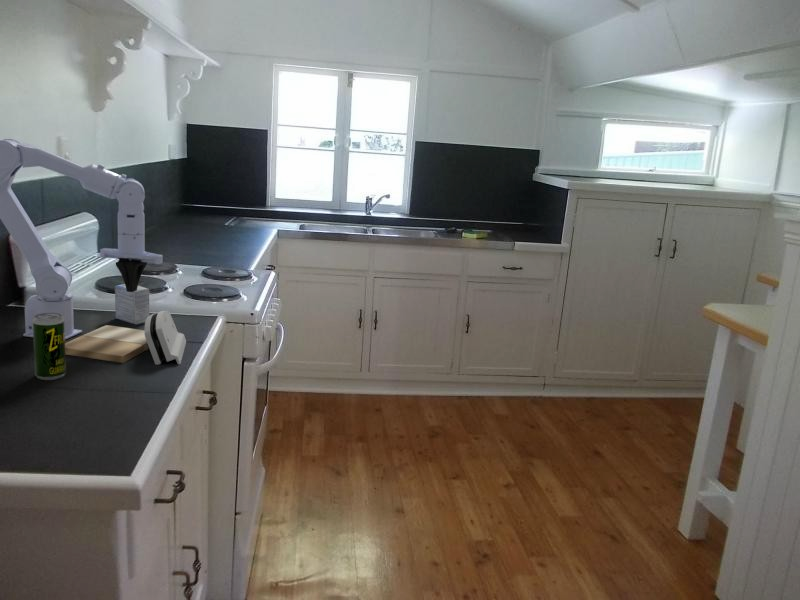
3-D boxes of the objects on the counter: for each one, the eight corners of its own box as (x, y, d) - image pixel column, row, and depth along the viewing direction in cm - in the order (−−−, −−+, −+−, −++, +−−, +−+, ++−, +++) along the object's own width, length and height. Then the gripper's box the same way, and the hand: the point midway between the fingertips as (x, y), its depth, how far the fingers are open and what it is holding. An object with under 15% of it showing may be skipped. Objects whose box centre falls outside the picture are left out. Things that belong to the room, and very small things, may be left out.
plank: (58, 353, 144) (57, 346, 143) (82, 342, 151) (81, 335, 151) (123, 363, 141) (123, 356, 141) (143, 351, 149) (143, 344, 149)
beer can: (28, 377, 129) (25, 317, 127) (50, 369, 135) (48, 310, 132) (51, 382, 128) (48, 321, 125) (72, 374, 133) (70, 315, 130)
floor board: (82, 342, 152) (82, 335, 151) (106, 331, 160) (106, 325, 160) (144, 351, 149) (144, 344, 149) (165, 339, 158) (165, 333, 157)
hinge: (180, 364, 143) (163, 321, 140) (157, 372, 142) (140, 328, 139) (186, 340, 159) (171, 301, 156) (166, 346, 158) (151, 307, 155)
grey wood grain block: (150, 322, 171) (150, 288, 169) (134, 325, 167) (134, 291, 165) (130, 315, 175) (129, 282, 173) (114, 318, 171) (114, 285, 169)
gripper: (91, 231, 152) (92, 290, 155) (151, 238, 150) (151, 298, 153) (110, 228, 159) (111, 284, 162) (167, 234, 156) (167, 292, 160)
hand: (131, 291), depth 158 cm, fingers closed
